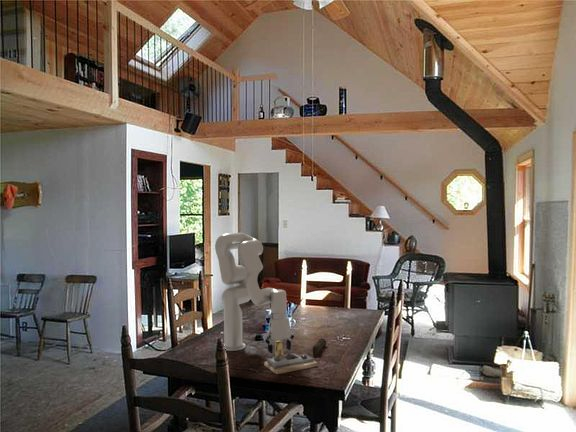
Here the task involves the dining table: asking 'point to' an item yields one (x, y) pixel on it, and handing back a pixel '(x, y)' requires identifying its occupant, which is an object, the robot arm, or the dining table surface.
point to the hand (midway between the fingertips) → (279, 350)
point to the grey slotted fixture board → (288, 360)
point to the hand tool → (318, 346)
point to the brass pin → (278, 348)
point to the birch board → (291, 367)
